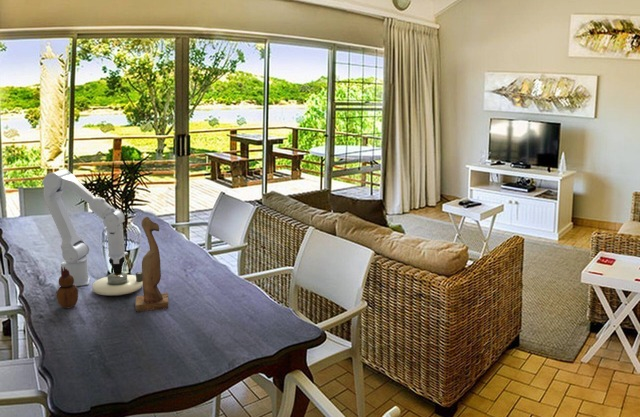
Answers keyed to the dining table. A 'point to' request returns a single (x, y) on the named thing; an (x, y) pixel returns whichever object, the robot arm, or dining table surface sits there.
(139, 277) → the turntable
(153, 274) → the bird sculpture
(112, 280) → the cover
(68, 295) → the wooden figurine
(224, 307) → the dining table surface
